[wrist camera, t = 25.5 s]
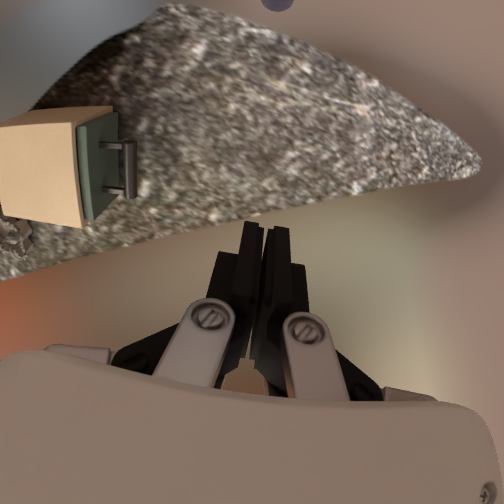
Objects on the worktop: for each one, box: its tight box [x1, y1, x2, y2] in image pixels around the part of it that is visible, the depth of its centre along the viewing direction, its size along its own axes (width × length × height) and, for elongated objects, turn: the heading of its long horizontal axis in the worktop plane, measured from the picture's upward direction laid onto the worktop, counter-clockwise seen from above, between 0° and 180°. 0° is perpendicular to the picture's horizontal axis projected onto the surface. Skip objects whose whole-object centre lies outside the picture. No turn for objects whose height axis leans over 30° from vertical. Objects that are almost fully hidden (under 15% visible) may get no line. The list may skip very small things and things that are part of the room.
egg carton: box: [0, 207, 33, 261], centre depth 38 cm, size 11×8×4 cm
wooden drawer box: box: [0, 106, 113, 228], centre depth 28 cm, size 13×11×8 cm
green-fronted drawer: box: [75, 112, 137, 221], centre depth 28 cm, size 17×10×7 cm, turn 82°
